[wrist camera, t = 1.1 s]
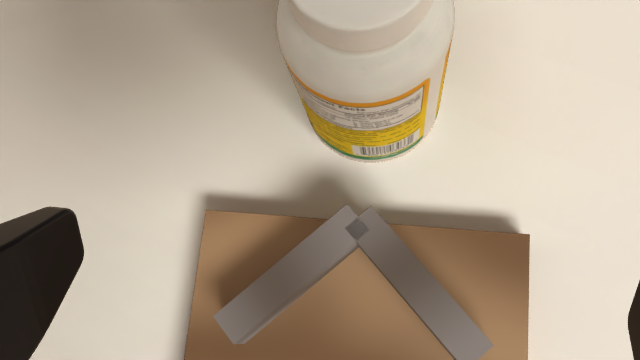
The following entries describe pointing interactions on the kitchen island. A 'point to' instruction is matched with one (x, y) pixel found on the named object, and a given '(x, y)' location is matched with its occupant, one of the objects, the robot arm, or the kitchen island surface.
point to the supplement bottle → (368, 70)
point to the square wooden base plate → (356, 290)
